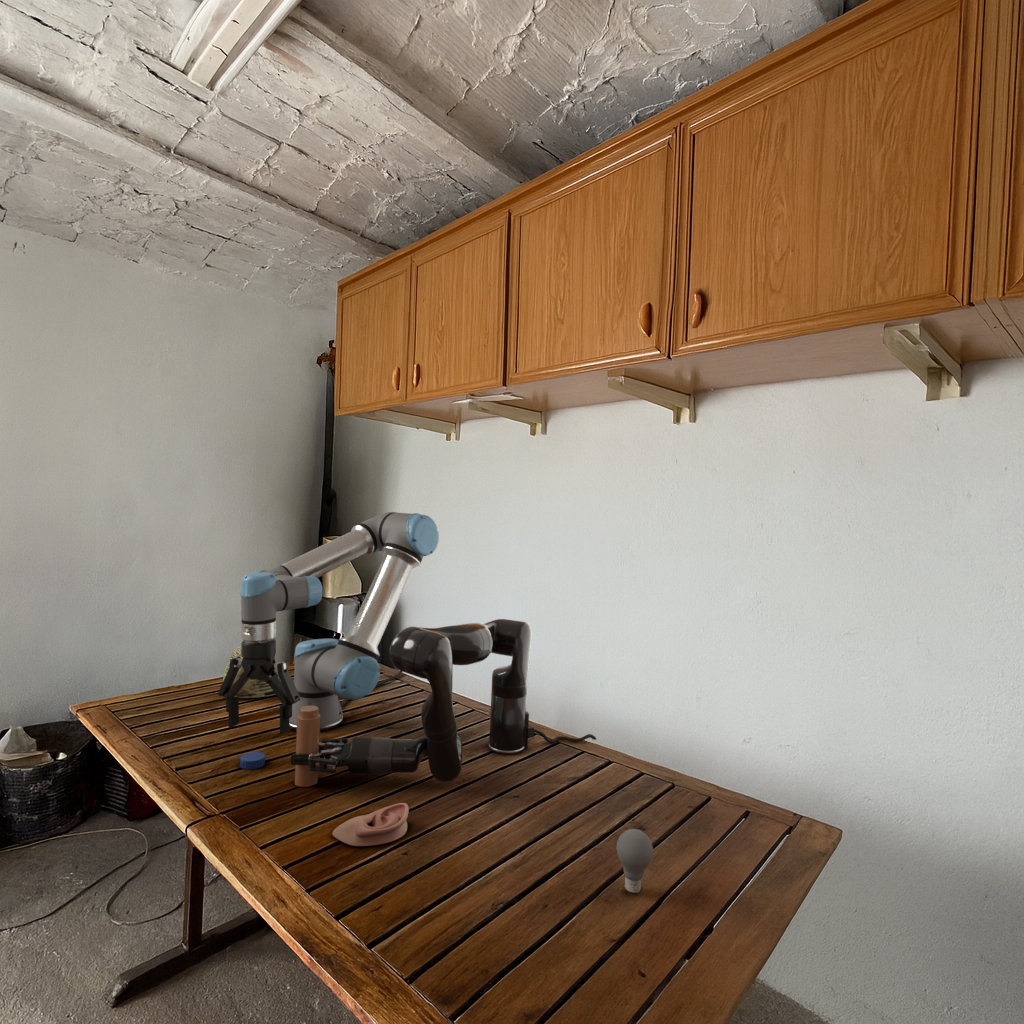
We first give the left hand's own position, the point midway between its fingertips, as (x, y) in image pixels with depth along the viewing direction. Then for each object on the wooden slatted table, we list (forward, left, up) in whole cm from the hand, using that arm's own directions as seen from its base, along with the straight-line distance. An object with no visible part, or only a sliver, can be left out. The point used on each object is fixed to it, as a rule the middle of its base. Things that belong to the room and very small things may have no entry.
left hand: (258, 728), depth 149 cm
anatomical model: (+2, +44, -8) cm, 44 cm away
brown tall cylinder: (-2, +17, -8) cm, 19 cm away
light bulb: (-16, +90, -8) cm, 92 cm away
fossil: (-25, -47, -8) cm, 54 cm away
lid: (+1, 0, -7) cm, 7 cm away
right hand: (0, +15, -2) cm, 15 cm away
